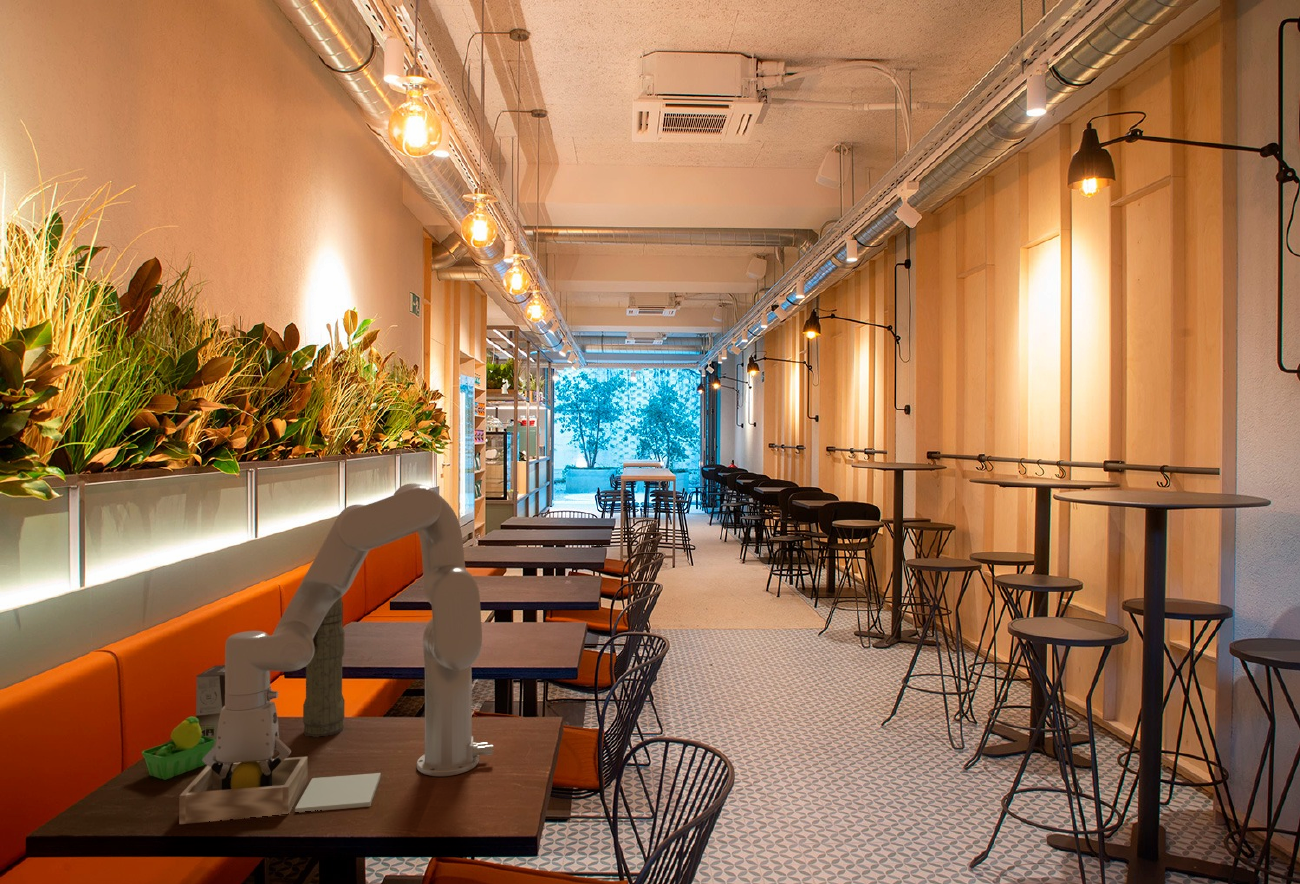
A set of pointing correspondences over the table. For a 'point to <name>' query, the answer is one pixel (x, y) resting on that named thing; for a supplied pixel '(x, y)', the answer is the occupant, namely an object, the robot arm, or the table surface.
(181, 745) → the fruit basket
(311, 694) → the thermos
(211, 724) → the coffee box
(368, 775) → the board
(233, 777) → the lemon
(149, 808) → the table surface
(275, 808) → the brown wooden tray
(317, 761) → the table surface
